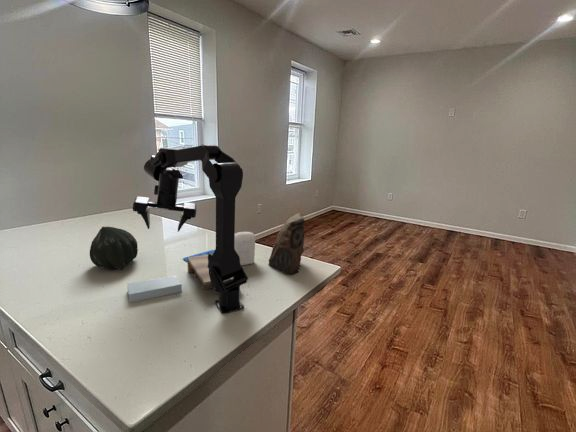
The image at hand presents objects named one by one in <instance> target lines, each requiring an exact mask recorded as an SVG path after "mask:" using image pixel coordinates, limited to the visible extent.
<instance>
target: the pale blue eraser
mask: <svg viewBox="0 0 576 432" xmlns="http://www.w3.org/2000/svg"><path fill="white" fill-rule="evenodd" d="M182 284H183V283H182V282H181V280H180V278H179V277H178V275H177V274H173V275H167V276H162V277H161V276H160V277H157V278H151V279H145V280H140V281H133V282H129V283H127V284H126V285H127V286H126V287H127V293H128V299H129V303H134V302H138V301H144V300H149V299H154V298H159V297H162V296H163V297H164V296H167V295H173V294H178V293H182V292H183V289H182V287H183V285H182Z"/></svg>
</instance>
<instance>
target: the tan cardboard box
mask: <svg viewBox="0 0 576 432" xmlns="http://www.w3.org/2000/svg"><path fill="white" fill-rule="evenodd" d="M208 255H209V254H207V255H200V256H194V257H189V256H186V257H187V262H186V263H187V272H188V274H193V273H194V277H195V278H198V279H199V280H200V281H201V283H202V285H201V289H202V290H208V289H213V288H212V285H211V280H210V276H209V268H208ZM229 279H230V278H229ZM227 280H228V279H227ZM224 281H225V280H224Z"/></svg>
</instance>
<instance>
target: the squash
mask: <svg viewBox="0 0 576 432" xmlns="http://www.w3.org/2000/svg"><path fill="white" fill-rule="evenodd" d="M138 247H139V246H138V241H137V240H136V238H135V236H134V235H133V234H132V233H130V232H129V231H128V230H126V229H122V228H119V227H118V228H117V227H113V226H102V227H101V228H100V229H99V231H98V232H97V234H96V236H94V238H93V240H92V241H91V244H90V248H89V258H90V261H91V262H92V263H93V265H95V266H96V267H98V268H103V269H105V270H108V271H109V270H110V271H111V270H113V269H116V270H120V269H123V268H124V266H125V265H129V264H131V263H133V261H134V260H135V259H136V258H137V256H138V250H139V249H138Z"/></svg>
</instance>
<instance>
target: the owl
mask: <svg viewBox="0 0 576 432" xmlns="http://www.w3.org/2000/svg"><path fill="white" fill-rule="evenodd" d="M305 225H306V220H305V219H304V217H303V216H302V213H301V212H300V211H299V212H298V213H296V214H294V215H292V216H291V217H289V219H287V220H286V221H285V223H284V224H283V225H282V226H281V228H280V230H279V232H278V234H277V238H276V240H275V242H274V244H273V246H272V248H271V253H270V257H269V259H268V264H267V266H269V267H271V268H273V269H275V270H277V271H278V272H281V273H282V274H284V275H287V276H294V275H297V274H299V273H300V271H299V270H301V269H300V267H301V262H302V255H303V254H304V251H305V249H304V244H305V243H304V242H305V235H306V234H305V232H304V230H305Z"/></svg>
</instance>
